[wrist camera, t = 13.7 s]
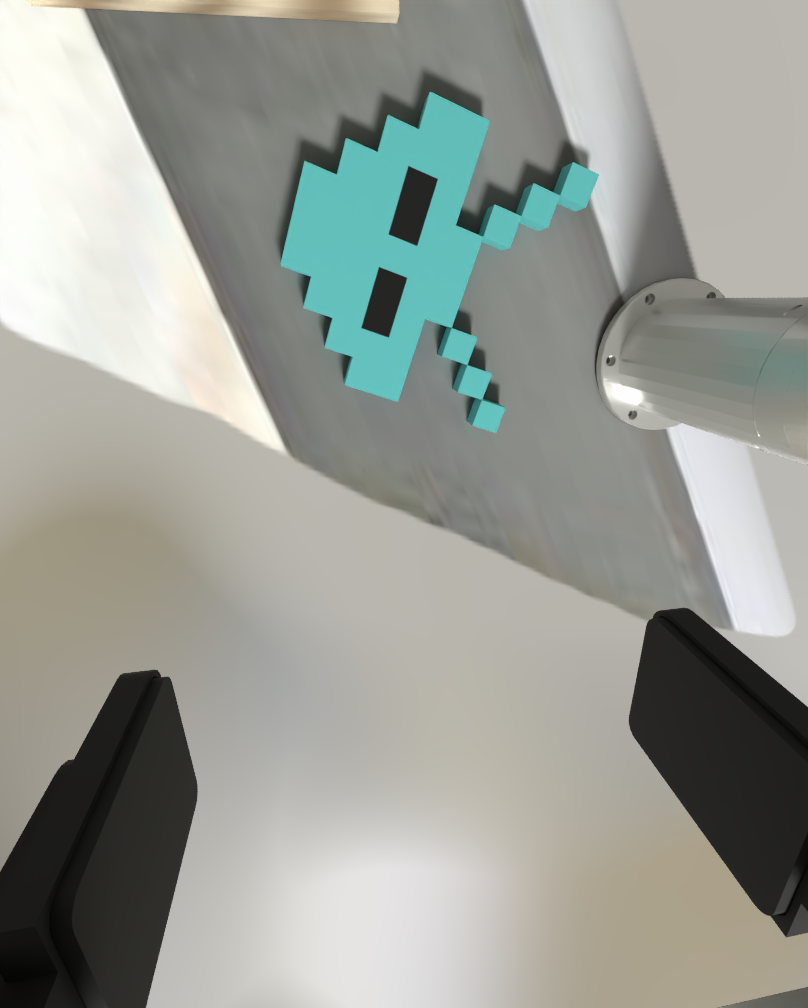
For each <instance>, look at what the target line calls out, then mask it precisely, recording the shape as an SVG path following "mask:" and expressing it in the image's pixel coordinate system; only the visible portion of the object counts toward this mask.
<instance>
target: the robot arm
mask: <svg viewBox="0 0 808 1008" xmlns="http://www.w3.org/2000/svg"><path fill="white" fill-rule="evenodd" d="M645 298H646V300H645ZM607 358H608V360H607ZM606 360H607V362H606ZM596 374H597V382H598V387H599V391H600V394H601V396H602V398H603V401H604V403H605V404H606V406H607V407H608V408H609V410H610V411H611V412H612V413H613V414H614V415H615V416H616V417H618V418H619V419H620V420H622V421H624V422H626V423H628V424H630V425H633V426H635V427H638V428H642V429H649V430H657V429H666V428H670V427H673V426H677V425H679V424H681V423H683V424H686V425H689V426H692V427H695V428H698V429H701V430H704V431H707V432H710V433H713V434H716V435H719V436H722V437H725V438H727V439H730V440H733V441H736V442H739V443H742V444H745V445H748V446H751V447H754V448H757V449H760V450H763V451H766V452H769V453H772V454H775V455H778V456H782V457H784V458H787V459H790V460H793V461H796V462H799V463H803V464H807V465H808V298H725V297H724V296H723V295H722V294H721V293H720V291H719V290H717V289H716V288H714V287H713V286H711V285H710V284H708V283H706V282H703V281H700V280H697V279H688V278H677V279H668V280H664V281H660V282H656V283H654V284H652V285H650V286H648V287H646V288H644V289H642V290H641V291H639V292H638V293H636V294H635V295H634V296H632V297H631V298H630V299H629V300H628V301H627V302H626V303H625V304H624V305H623V306H622V307H621V308H620V309H619V310H618V312H617V313H616V314H615V316H614V317H613V318H612V320H611V321H610V323H609V325H608V327H607V329H606V331H605V333H604V335H603V338H602V341H601V344H600V347H599V350H598V357H597V363H596ZM629 725H630V729H631V732H632V734H633V736H634V738H635V739H636V741H637V742H638V743H639V744H640V746H641V748H642V749H643V750H644V752H645V753H646V754H647V755H648V757H649V759H650V760H651V761H652V763H653V764H654V766H655V767H656V768H657V770H658V771H659V773H660V774H661V775H662V777H663V778H664V779H665V781H666V782H667V784H668V785H669V786H670V788H671V789H672V791H673V792H674V793H675V795H676V796H677V797H678V799H679V800H680V802H681V803H682V804H683V806H684V807H685V809H686V810H687V811H688V813H689V814H690V816H691V817H692V818H693V820H694V821H695V823H696V824H697V825H698V827H699V828H700V830H701V831H702V832H703V834H704V835H705V836H706V838H707V839H708V840H709V842H710V843H711V845H712V846H713V847H714V849H715V850H716V852H717V853H718V855H719V856H720V857H721V859H722V860H723V861H724V863H725V864H726V865H727V867H728V868H729V870H730V871H731V872H732V874H733V875H734V877H735V878H736V879H737V881H738V882H739V884H740V885H741V886H742V888H743V889H744V891H745V892H746V893H747V895H748V896H749V898H750V899H751V900H752V902H753V903H754V904H755V906H757V908H758V909H759V910H760V911H761V912H763V913H764V914H766V915H769V916H771V917H772V918H773V920H774V921H775V923H776V924H777V925H778V927H779V928H780V930H781V931H782V932H783V934H784V935H785V936H786V937H789V936H795V935H799V934H803V933H808V707H807V706H806V705H805V704H803V703H802V702H801V701H800V700H799V699H797V698H796V697H795V696H794V695H793V694H791V693H790V692H789V691H788V690H787V689H785V688H784V687H783V686H782V685H781V684H779V683H778V682H777V681H776V680H775V679H773V678H772V677H771V676H770V675H769V674H767V673H766V672H765V671H764V670H763V669H761V668H760V667H759V666H758V665H757V664H755V663H754V662H753V661H752V660H751V659H749V658H748V657H747V656H746V655H745V654H743V653H742V652H741V651H740V650H739V649H737V648H736V647H735V646H734V645H733V644H731V643H730V642H729V641H728V640H727V639H725V638H724V637H723V636H722V635H721V634H719V633H718V632H717V631H716V630H715V629H713V628H712V627H711V626H710V625H709V624H707V623H706V622H705V621H704V620H703V619H701V618H700V617H699V616H698V615H697V614H695V613H694V612H693V611H691V610H690V609H688V608H678V609H670V610H661V611H658V612H656V613H655V614H654V616H653V619H650V620H649V621H648V623H647V626H646V631H645V636H644V642H643V647H642V652H641V657H640V663H639V668H638V673H637V678H636V684H635V689H634V694H633V699H632V704H631V710H630V715H629ZM196 802H197V780H196V776H195V772H194V769H193V765H192V760H191V756H190V753H189V749H188V745H187V741H186V737H185V733H184V729H183V725H182V721H181V717H180V713H179V709H178V705H177V701H176V697H175V693H174V689H173V685H172V682H171V679H170V678H169V677H161V675H160V673H159V672H158V670H149V671H140V672H132V673H123V674H122V675H120V676H119V678H118V679H117V681H116V683H115V685H114V686H113V688H112V690H111V692H110V694H109V696H108V698H107V699H106V701H105V703H104V705H103V707H102V709H101V710H100V712H99V714H98V716H97V718H96V720H95V722H94V723H93V725H92V727H91V729H90V731H89V733H88V734H87V736H86V738H85V740H84V742H83V744H82V746H81V747H80V749H79V751H78V753H77V755H76V757H75V759H74V760H68V761H67V762H65V763H64V764H63V765H61V767H60V768H59V770H58V771H57V773H56V774H55V775H54V777H53V779H52V781H51V783H50V785H49V786H48V788H47V790H46V791H45V793H44V795H43V797H42V799H41V800H40V802H39V804H38V806H37V807H36V809H35V811H34V813H33V815H32V816H31V818H30V820H29V822H28V824H27V825H26V827H25V829H24V831H23V833H22V834H21V836H20V838H19V839H18V841H17V843H16V845H15V847H14V848H13V850H12V852H11V854H10V855H9V857H8V859H7V861H6V863H5V865H4V866H3V868H2V870H1V872H0V1008H146V1004H147V1000H148V996H149V992H150V988H151V984H152V980H153V976H154V972H155V968H156V964H157V960H158V955H159V952H160V948H161V944H162V940H163V936H164V932H165V928H166V924H167V920H168V916H169V912H170V908H171V903H172V900H173V895H174V891H175V887H176V883H177V879H178V875H179V871H180V867H181V863H182V859H183V855H184V851H185V847H186V843H187V839H188V834H189V831H190V826H191V823H192V819H193V814H194V811H195V806H196ZM718 1008H808V987H806V988H802V989H797V990H793V991H789V992H784V993H779V994H775V995H771V996H766V997H762V998H758V999H754V1000H749V1001H744V1002H740V1003H736V1004H731V1005H727V1006H723V1007H718Z"/></svg>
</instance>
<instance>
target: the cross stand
mask: <svg viewBox="0 0 808 1008" xmlns="http://www.w3.org/2000/svg"><path fill="white" fill-rule="evenodd" d="M27 1H28V2H29V3H30V4H31V5H32V6H49V7H69V8H90V9H111V10H132V11H152V12H173V13H194V14H215V15H236V16H256V17H277V18H298V19H319V20H339V21H360V22H381V23H397V20H398V16H399V0H27Z"/></svg>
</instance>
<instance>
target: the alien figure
mask: <svg viewBox="0 0 808 1008" xmlns="http://www.w3.org/2000/svg"><path fill="white" fill-rule="evenodd" d="M489 123H490V121H489V120H487V119H485V118H483V117H481V116H479V115H477V114H475V113H473V112H471V111H469V110H467V109H465V108H463V107H461V106H459V105H457V104H455V103H453V102H451V101H449V100H446V99H444V98H442V97H440V96H438V95H436V94H434V93H432V92H430V93H429V94H428V96H427V98H426V100H425V103H424V106H423V110H422V113H421V117H420V120H419V124H418V127H417V128H415V127H413V126H411V125H409V124H407V123H404V122H402V121H400V120H398V119H396V118H394V117H392V116H390V115H388V116H387V119H386V122H385V125H384V128H383V132H382V136H381V139H380V143H379V147H378V150H377V151H374V150H372V149H370V148H368V147H365V146H363V145H361V144H359V143H356V142H354V141H352V140H350V139H347V138H346V140H345V144H344V148H343V152H342V156H341V160H340V164H339V168H338V172H337V174H334V173H332V172H329V171H327V170H325V169H322V168H320V167H318V166H315V165H313V164H311V163H308V162H306V161H304V165H303V170H302V174H301V178H300V183H299V187H298V191H297V195H296V200H295V204H294V208H293V213H292V217H291V221H290V226H289V230H288V234H287V238H286V243H285V247H284V251H283V256H282V260H281V264H280V265H281V266H282V267H284V268H287V269H290V270H292V271H295V272H298V273H301V274H303V275H306V276H309V277H311V279H310V283H309V287H308V291H307V295H306V299H305V303H304V307H303V308H305V309H308V310H311V311H314V312H317V313H320V314H322V315H325V316H328V317H331V318H332V320H331V324H330V327H329V331H328V335H327V338H326V342H325V346H324V347H325V348H327V349H330V350H333V351H336V352H339V353H342V354H345V355H348V356H351V358H350V362H349V365H348V369H347V372H346V375H345V379H344V385H346V386H349V387H352V388H356V389H359V390H362V391H365V392H368V393H371V394H374V395H378V396H381V397H384V398H387V399H390V400H393V401H397V402H398V400H399V397H400V394H401V391H402V388H403V385H404V382H405V379H406V376H407V372H408V369H409V366H410V363H411V360H412V357H413V354H414V351H415V348H416V345H417V342H418V339H419V336H420V333H421V330H422V327H423V324H424V321H425V319H426V320H429V321H431V322H434V323H437V324H440V325H442V326H445V327H446V330H445V333H444V336H443V339H442V342H441V345H440V347H439V350H438V353H437V354H438V355H440V356H443V357H445V358H448V359H451V360H454V361H457V362H460V363H461V366H460V369H459V371H458V374H457V377H456V380H455V383H454V385H453V388H452V389H454V390H455V391H457V392H459V393H462V394H465V395H468V396H471V397H474V398H475V400H474V403H473V405H472V408H471V411H470V413H469V416H468V419H467V422H469V423H470V424H471V425H472V426H476V427H479V428H482V429H485V430H488V431H491V432H494V433H496V431H497V429H498V426H499V424H500V421H501V419H502V416H503V414H504V411H505V409H506V408H505V407H503V406H501V405H500V404H497V403H494V402H491V401H488V400H485V399H483V396H484V394H485V391H486V388H487V386H488V383H489V381H490V378H491V375H492V374H491V373H489V372H487V371H484V370H481V369H478V368H475V367H472V366H470V365H468V362H469V359H470V357H471V354H472V351H473V348H474V346H475V343H476V340H477V337H475V336H472V335H469V334H467V333H464V332H461V331H458V330H456V329H453V328H452V326H453V323H454V320H455V317H456V314H457V311H458V309H459V306H460V303H461V300H462V297H463V294H464V291H465V288H466V285H467V283H468V280H469V277H470V274H471V271H472V268H473V265H474V262H475V260H476V257H477V254H478V251H479V248H480V245H481V242H483V243H485V244H488V245H490V246H493V247H495V248H497V249H500V250H506V249H509V248H510V247H511V244H512V241H513V239H514V236H515V233H516V230H517V228H518V225H519V223H521V224H523V225H526V226H528V227H530V228H532V229H535V230H537V231H540V230H543V229H546V228H548V226H549V224H550V221H551V218H552V216H553V213H554V210H555V208H556V205H557V204H559V205H562V206H564V207H566V208H568V209H570V210H572V211H574V212H575V211H578V210H581V209H583V208H586V206H587V203H588V201H589V198H590V196H591V193H592V191H593V188H594V186H595V183H596V181H597V178H598V176H599V174H597V173H595V172H592V171H590V170H588V169H586V168H584V167H582V166H580V165H578V164H576V163H574V162H572V163H570V164H568V165H567V166H565V167H563V168H562V170H561V172H560V175H559V178H558V180H557V183H556V186H555V188H554V191H553V192H551V191H549V190H547V189H545V188H543V187H541V186H539V185H537V184H534V183H533V184H531V185H530V186H528V187H526V188H524V191H523V194H522V197H521V200H520V202H519V205H518V208H517V211H516V213H513V212H511V211H509V210H506V209H504V208H502V207H500V206H497V205H495V204H494V205H493V206H491V207H489V208H487V211H486V213H485V216H484V219H483V222H482V225H481V228H480V231H479V234H475V233H473V232H470V231H468V230H466V229H463V228H461V227H459V226H456V223H457V220H458V217H459V214H460V211H461V208H462V205H463V202H464V199H465V196H466V193H467V190H468V187H469V184H470V181H471V178H472V175H473V172H474V168H475V165H476V162H477V159H478V156H479V153H480V150H481V147H482V144H483V141H484V138H485V135H486V132H487V129H488V126H489Z"/></svg>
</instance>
